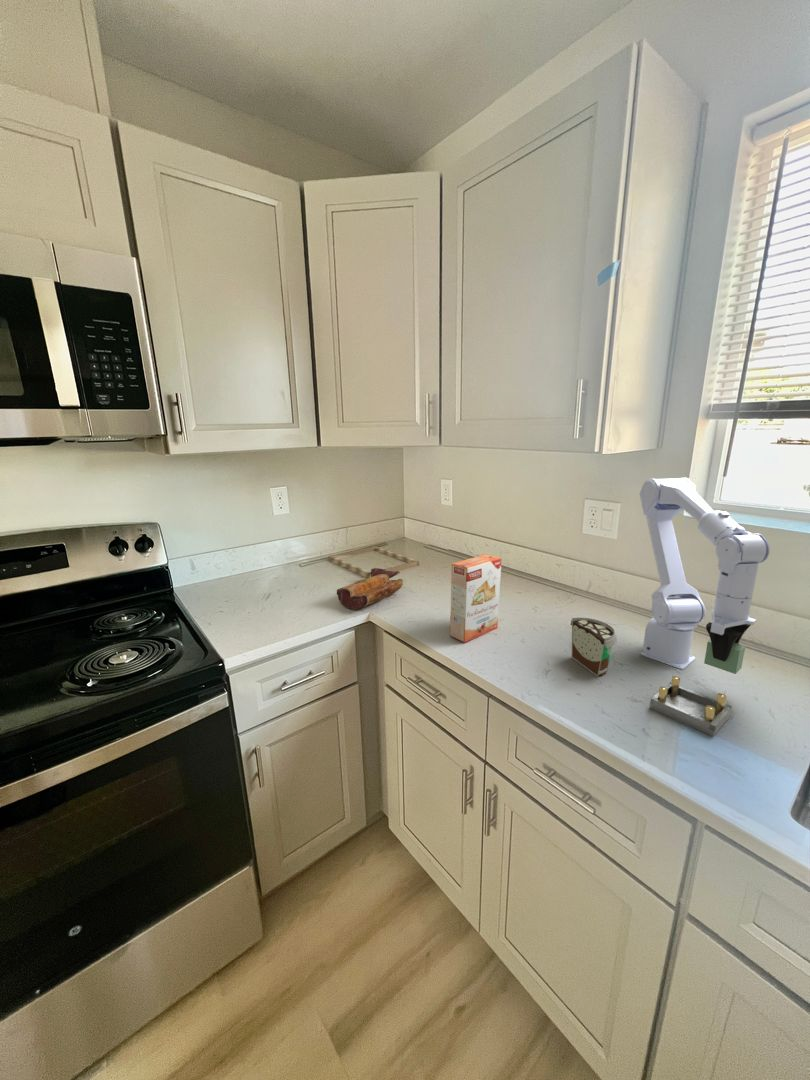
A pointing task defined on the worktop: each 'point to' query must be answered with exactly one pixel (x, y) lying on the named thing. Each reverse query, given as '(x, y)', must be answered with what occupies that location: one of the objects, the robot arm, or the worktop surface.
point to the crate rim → (363, 572)
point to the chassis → (691, 707)
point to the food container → (592, 644)
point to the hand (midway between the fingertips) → (723, 655)
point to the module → (733, 660)
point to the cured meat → (369, 589)
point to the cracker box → (475, 597)
